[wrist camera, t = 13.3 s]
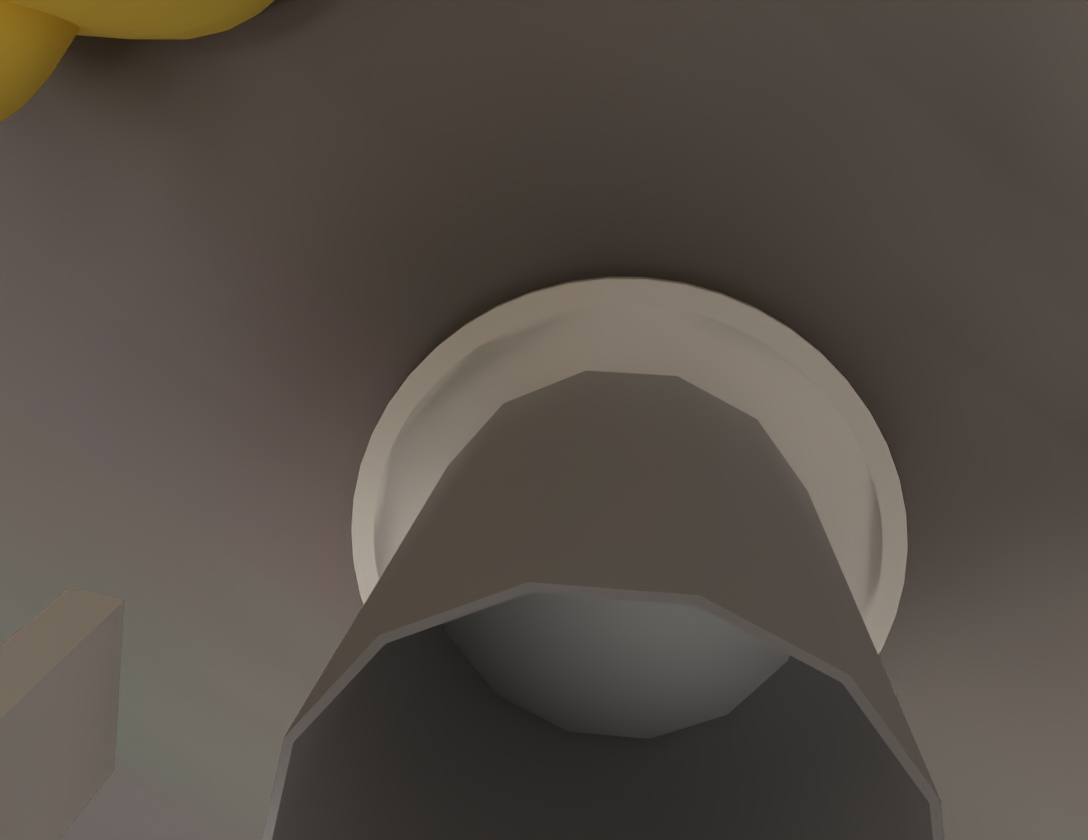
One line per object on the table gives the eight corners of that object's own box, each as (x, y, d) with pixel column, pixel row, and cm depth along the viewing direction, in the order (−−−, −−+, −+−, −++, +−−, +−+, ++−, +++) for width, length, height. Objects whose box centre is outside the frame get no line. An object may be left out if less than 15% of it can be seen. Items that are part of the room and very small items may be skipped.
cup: (895, 494, 21) (1107, 811, 11) (693, 784, 23) (722, 1249, 13) (536, 298, 20) (432, 452, 11) (369, 614, 23) (162, 969, 13)
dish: (406, 220, 21) (391, 225, 20) (966, 334, 21) (984, 347, 20) (336, 700, 25) (320, 728, 24) (813, 809, 24) (820, 842, 23)
